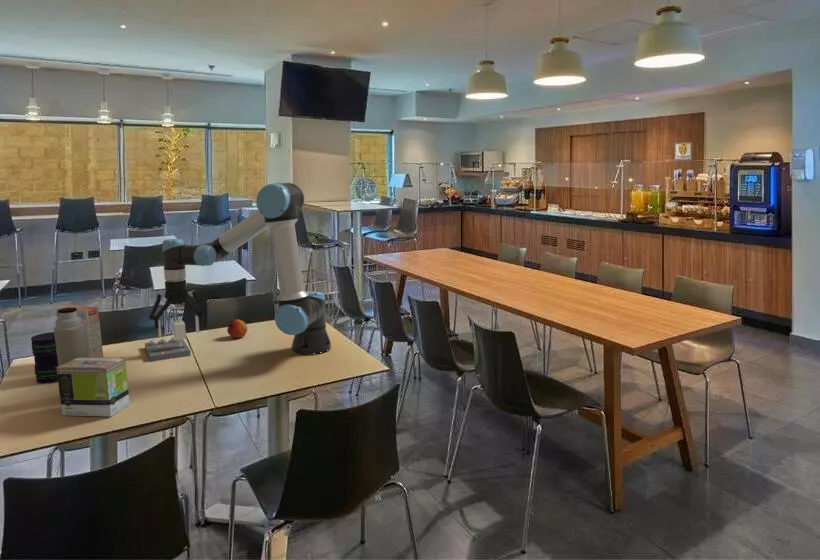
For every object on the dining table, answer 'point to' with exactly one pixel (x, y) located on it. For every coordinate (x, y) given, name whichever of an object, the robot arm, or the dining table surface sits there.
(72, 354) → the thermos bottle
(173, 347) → the console
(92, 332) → the cracker box
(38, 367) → the black striped canister
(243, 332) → the fruit
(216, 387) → the dining table surface
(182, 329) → the block
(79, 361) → the tea box
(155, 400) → the dining table surface
